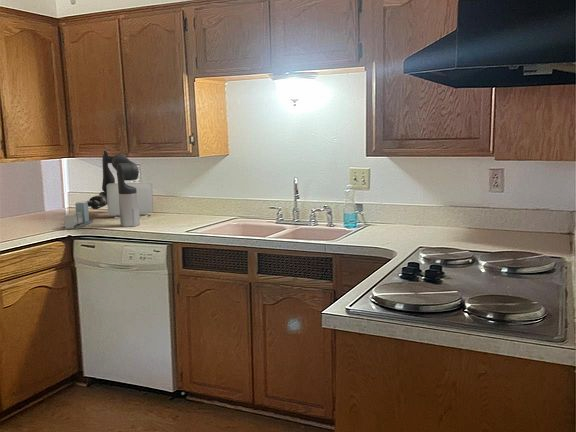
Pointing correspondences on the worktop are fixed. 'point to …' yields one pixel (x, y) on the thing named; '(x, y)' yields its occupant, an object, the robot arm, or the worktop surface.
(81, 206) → the block
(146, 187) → the network device
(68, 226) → the rail
